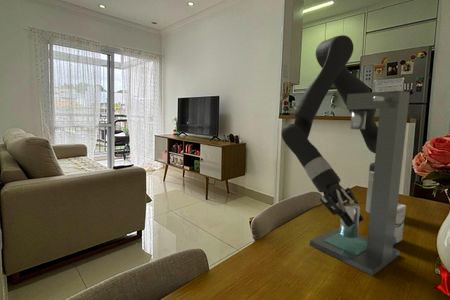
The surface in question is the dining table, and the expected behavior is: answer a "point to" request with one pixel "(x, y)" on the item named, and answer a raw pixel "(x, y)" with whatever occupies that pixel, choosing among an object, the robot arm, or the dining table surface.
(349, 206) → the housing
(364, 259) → the press
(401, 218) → the ink box
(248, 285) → the dining table surface
